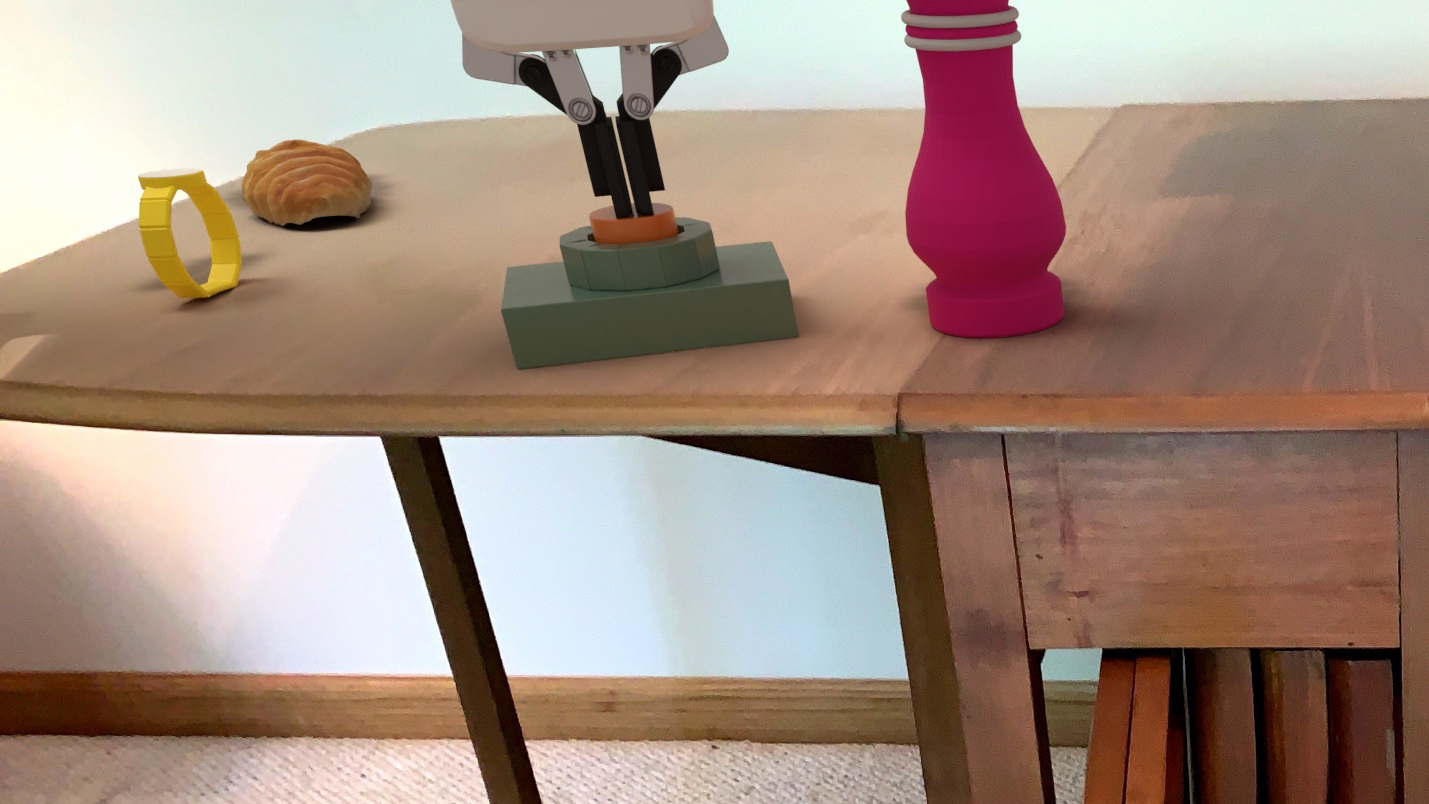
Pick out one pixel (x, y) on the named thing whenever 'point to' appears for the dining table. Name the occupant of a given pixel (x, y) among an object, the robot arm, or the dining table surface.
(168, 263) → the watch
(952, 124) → the pepper mill
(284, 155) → the pastry
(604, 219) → the button
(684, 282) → the control box
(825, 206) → the dining table surface
